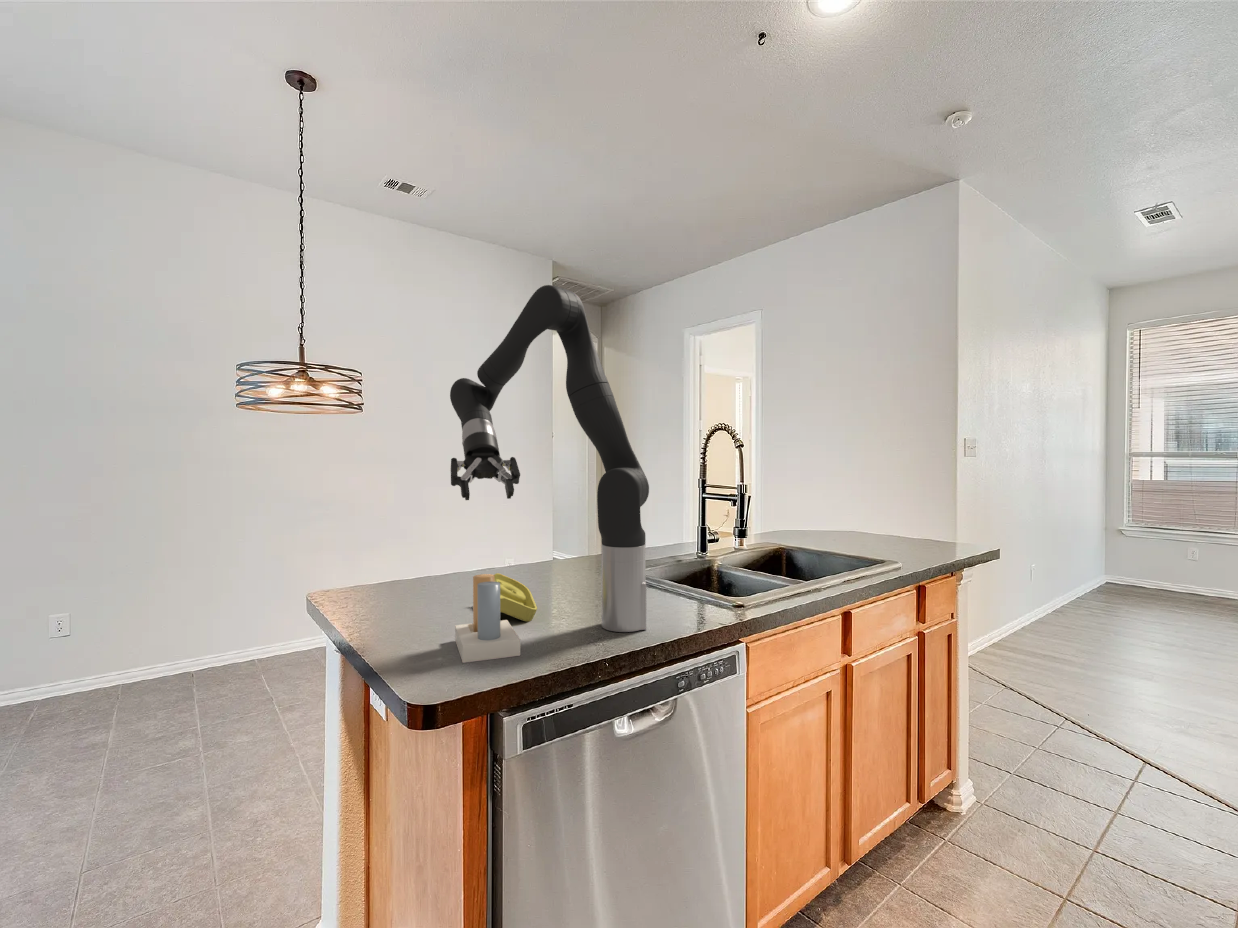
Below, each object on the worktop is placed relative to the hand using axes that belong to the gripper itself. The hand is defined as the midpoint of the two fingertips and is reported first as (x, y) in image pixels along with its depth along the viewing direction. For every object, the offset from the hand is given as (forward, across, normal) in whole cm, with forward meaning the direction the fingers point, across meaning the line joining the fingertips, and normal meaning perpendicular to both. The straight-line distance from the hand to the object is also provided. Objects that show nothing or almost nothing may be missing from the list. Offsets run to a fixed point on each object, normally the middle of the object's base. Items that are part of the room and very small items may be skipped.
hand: (489, 496), depth 119 cm
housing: (+27, -3, +12) cm, 30 cm away
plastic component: (+11, +6, +28) cm, 31 cm away
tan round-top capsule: (+24, -3, +13) cm, 28 cm away
